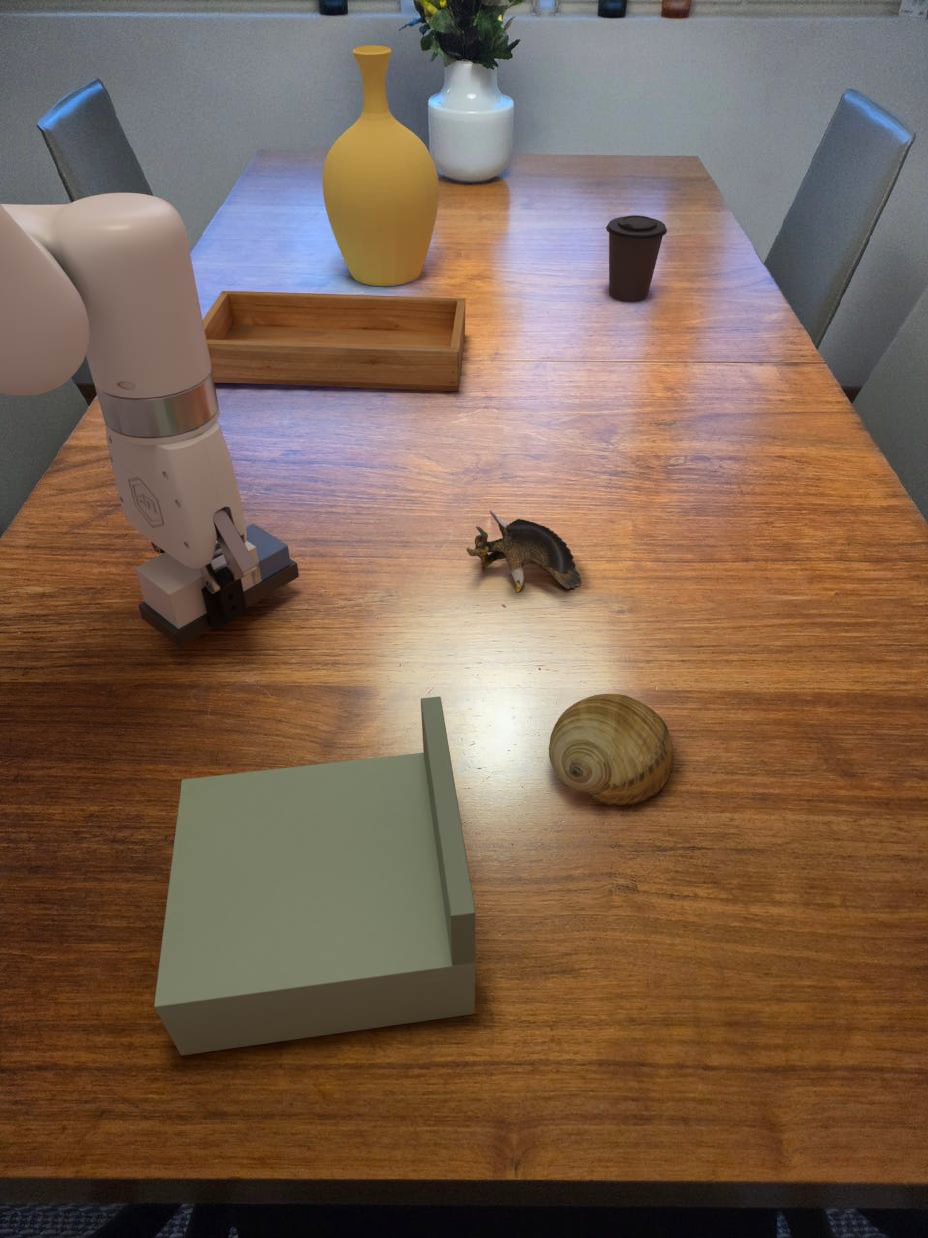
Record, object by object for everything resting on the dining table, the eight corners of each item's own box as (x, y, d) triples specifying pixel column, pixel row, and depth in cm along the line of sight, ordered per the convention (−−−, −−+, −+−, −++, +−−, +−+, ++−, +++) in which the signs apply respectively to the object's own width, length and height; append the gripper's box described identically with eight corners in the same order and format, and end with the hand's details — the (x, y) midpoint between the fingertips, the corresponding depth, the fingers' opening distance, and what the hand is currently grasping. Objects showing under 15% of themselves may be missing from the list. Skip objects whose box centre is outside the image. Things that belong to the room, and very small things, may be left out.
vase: (312, 286, 125) (284, 57, 106) (357, 247, 136) (339, 34, 117) (418, 300, 121) (408, 65, 102) (455, 259, 132) (453, 40, 114)
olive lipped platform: (180, 1056, 47) (126, 958, 40) (202, 835, 57) (162, 725, 50) (474, 1014, 49) (475, 913, 41) (444, 806, 59) (440, 695, 51)
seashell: (622, 763, 67) (574, 674, 65) (705, 747, 62) (656, 651, 61) (570, 843, 59) (515, 745, 58) (661, 831, 55) (603, 724, 53)
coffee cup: (597, 303, 120) (604, 228, 113) (601, 281, 126) (608, 208, 119) (657, 307, 119) (668, 231, 112) (658, 285, 125) (668, 211, 118)
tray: (465, 337, 112) (465, 293, 109) (458, 394, 101) (458, 348, 97) (229, 332, 114) (221, 289, 110) (197, 388, 102) (187, 342, 99)
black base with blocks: (178, 648, 67) (164, 598, 64) (142, 618, 70) (126, 569, 66) (299, 576, 74) (292, 528, 71) (262, 552, 76) (254, 504, 73)
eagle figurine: (468, 598, 73) (575, 595, 71) (463, 512, 72) (572, 506, 70) (488, 587, 80) (587, 584, 78) (484, 509, 79) (583, 504, 77)
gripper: (42, 376, 61) (108, 579, 73) (185, 466, 52) (233, 679, 65) (137, 343, 65) (185, 540, 77) (284, 421, 57) (311, 629, 69)
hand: (206, 601), depth 71 cm, fingers closed on black base with blocks, 5 cm apart
